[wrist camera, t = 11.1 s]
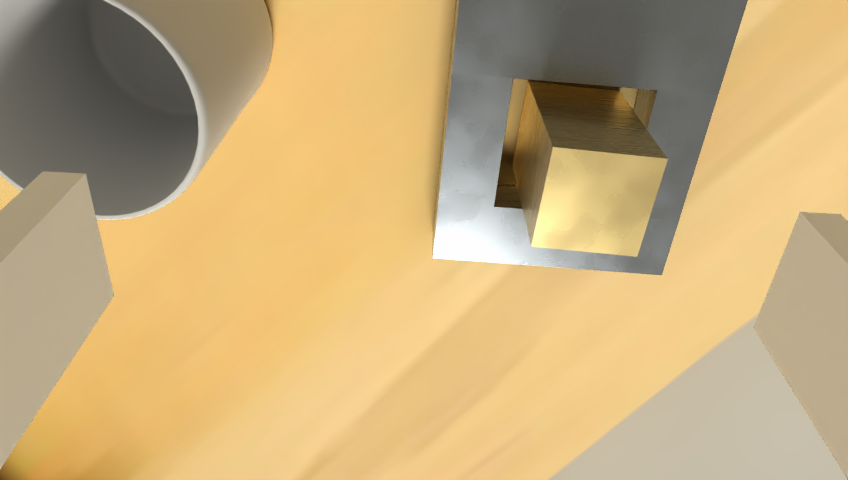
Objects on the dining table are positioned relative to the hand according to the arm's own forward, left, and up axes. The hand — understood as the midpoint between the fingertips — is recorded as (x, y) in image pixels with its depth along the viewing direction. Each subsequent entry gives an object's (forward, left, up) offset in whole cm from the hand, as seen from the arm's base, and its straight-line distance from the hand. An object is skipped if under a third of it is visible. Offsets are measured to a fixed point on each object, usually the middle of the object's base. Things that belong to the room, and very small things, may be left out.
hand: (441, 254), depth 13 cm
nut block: (+5, +7, -21) cm, 23 cm away
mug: (+1, -13, -22) cm, 25 cm away
